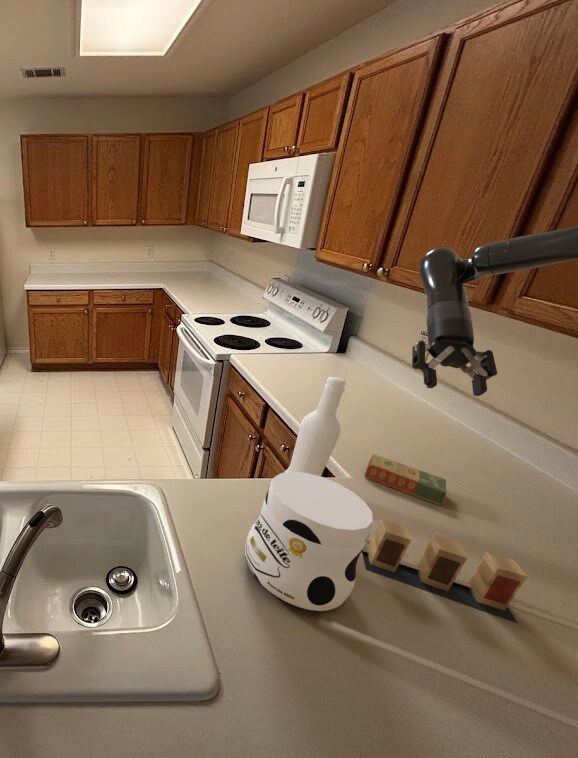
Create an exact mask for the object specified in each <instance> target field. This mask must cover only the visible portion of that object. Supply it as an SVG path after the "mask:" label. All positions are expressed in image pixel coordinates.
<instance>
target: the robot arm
mask: <svg viewBox="0 0 578 758" xmlns="http://www.w3.org/2000/svg"><path fill="white" fill-rule="evenodd" d="M576 260H578V225H576V226H572V227H567V228H566V227H565V228H561V229H556V230H550V231H545V232H539V233H532V234H528V235H527V234H526V235H522V236H516V237H512V238H508V239H502V240H497V241H495V242H494V241H493V242H489V243H485V244H482V245H479V246H478V247H476V248H475V249H474V251H473V252H472V255H471V257H470V258H465V259H462V258H461V257H460V256H459V254H457V252H456V251H455V250H454V249H452V248H449V247H445V246H440V247H435V248H432V249H430V250H428V251H427V252H426V253H425V254H424V255H423V256H422V257H421V259H420V261H419V263H418V264H419V265H418V273H419V278H420V281H421V284H422V287H423V290H424V292H425V297H426V298H425V301H426V321H425V322H426V333H427V343H426V342H425V341H424V340H419V341H418V342H417V343H416V344H414V345H413V346H412V349H411V351H412V353H411V367H412V369H414V370H420V371H421V372H422V374H423V384H424V385H425V386H426V388H427V389H433V388H435V387H436V386H438V378H437V369H435V368H436V367H437V366H438V365H440V366H441V367H445V368H446V367H450V368H453V369H460V371H462V373H463V374H467V375H468V376H469V377H470V378H471V379H472V380H471V388H472V394H473V396H475V397H481V396H482V395H484V394H486V392H488V384H487V380H489V379H491V378H493V377H496V376H497V375H498V369H497V364H496V361H495V357H494V352H493V351H492V350H491V349H487V350H485V351H480V350H479V351H478V350H476V349H475V348H474V344H475V343H474V342H475V335H474V327H473V320H472V319H473V318H472V312H471V310H470V306H469V300H468V292H467V290H466V287H465V286H464V285H465V284H469V283H471V282H472V283H473V282H476V281H477V280H480V279H482V278H484V277H488V276H493V275H494V276H495V275H501V274H506V273H508V274H509V273H513V272H514V273H515V272H521V271H525V270H530V269H536V268H541V267H545V266H549V265H555V264H559V263H564V262H569V261H576ZM426 353H428V354H429V355H430V356H431V357H432V359H430V360H429V362H426ZM468 364H470V366H468Z"/></svg>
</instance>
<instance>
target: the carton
mask: <svg viewBox="0 0 578 758" xmlns="http://www.w3.org/2000/svg"><path fill="white" fill-rule="evenodd" d="M364 478H367V479H369V480H372V481H374V482H377V483H380V484H383V485H384V486H387V487H391V488H393V489H396V490H398V491H400V492H403V493H406V494H408V495H410V496H413V497H415V498H418V499H421V500H423V501H425V502H428V503H431V504H433V505H436V506H437V507H440V506H442V505H443V503H444V501H445V498H446V495H447V493H448V492H447V480H446V478H443V477H440V476H437V475H434V474H432V473H429V472H427V471H423V470H420V469H417V468H415V467H412V466H408V465H406V464H403V463H400V462H397V461H395V460H392V459H389V458H386V457H384V456H381V455H377V454H375V453H373V454H372V455H371V457H370V459H369V461H368V464H367V467H366V470H365V472H364Z"/></svg>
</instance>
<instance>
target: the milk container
mask: <svg viewBox="0 0 578 758" xmlns="http://www.w3.org/2000/svg"><path fill="white" fill-rule="evenodd" d="M284 472H285V471H284ZM284 472H281V473H280V472H279V474H277V475H275V476H274V477H273V478H272V479H271V482H270V484H269V486H268V489H267V492H266V494H265V497H264V499H263V502H262V506H261V510H260V514H259V516H258V517H257V519H256V520H255V522H254V523H253V525H252V526H251V528H250V529H249V531H248V532H247V536H246V539H245V545H244V557H245V562H246V565H247V568H248V569H249V571H250V573H251V574H252V576H253V578H254V579H255V580H256V581H257V582H258V584H260V585H261V587H263V588H264V589H265V590H266V591H267V592H268V593H270V594H271V595H273V596H274V597H275V598H277V599H279V600H281V601H282V602H284V603H286V604H288V605H291V606H293V607H296V608H299V609H302V610H304V611H310V612H311V611H312V612H327V611H329V610H330V611H331V610H333V609H336V608H339V607H340V606H341V605H342V604H343V603H344V602H346V600H347V599H348V598H349V596H350V595H351V593H352V591H353V589H354V586H355V583H356V578H357V577H356V576H357V563H358V560H359V558H360V556H361V554H362V551H364V548H365V546H366V544H367V540H368V538H369V537H370V535H371V531H372V528H373V523H374V521H373V519H374V518H373V511H372V510H371V508H370V507H369V505H368V504H367V502H366V501H364V500H363V499H362V498H361V497H360V496H359V495H358V494H356V493H355V492H353V491H352V490H350V489H348V488H347V487H345V486H343V485H342V484H340V483H338V482H335V481H333V480H332V479H331V480H330V479H328V478H327V477H324V476H321V477H320V476H317V475H313V474H309V473H303V472H285V473H284Z"/></svg>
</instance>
